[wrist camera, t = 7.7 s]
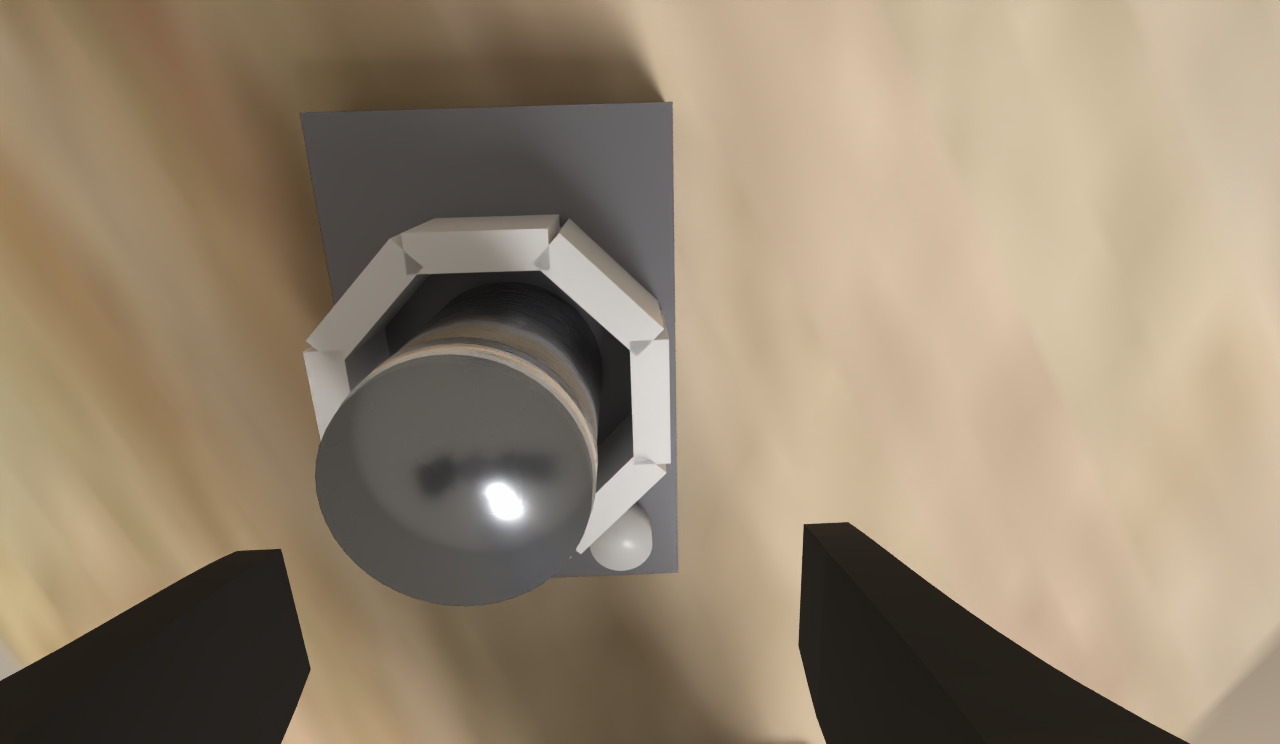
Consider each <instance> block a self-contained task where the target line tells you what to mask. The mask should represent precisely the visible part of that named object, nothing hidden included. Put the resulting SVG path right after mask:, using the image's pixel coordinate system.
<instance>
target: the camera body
mask: <svg viewBox="0 0 1280 744" xmlns="http://www.w3.org/2000/svg"><path fill="white" fill-rule="evenodd" d="M300 118H301V123H302V129H303V134H304V140H305V146H306V151H307V157H308V162H309V168H310V173H311V179H312V184H313V190H314V195H315V201H316V206H317V212H318V218H319V223H320V229H321V234H322V240H323V245H324V251H325V256H326V262H327V267H328V273H329V278H330V284H331V290H332V295H333V301H334V307H333V308H332V309H331V311H330V312H329V313H328V314H327V315H326V317H325V318H324V319H323V320H322V322H321V323H320V324H319V325H318V326H317V328H316V329H315V330H314V331H313V332H312V334H311V335H310V336H309V337H308V339H307V340H306V342H307V343H308V344H310V345H311V347H310V348H308V349H307V350H305V351H304V352H303V355H304V360H305V365H306V370H307V375H308V380H309V385H310V390H311V395H312V400H313V405H314V410H315V415H316V420H317V425H318V430H319V435H320V440H322V437H323V435H324V432H325V430H326V428H327V426H328V424H329V423H330V421H331V419H332V418H333V416H334V414H335V413H336V412H337V410H338V408H339V407H340V405H341V403H342V402H343V401H344V400H345V398H346V397H347V396H348V395H349V394H350V392H351V391H352V390H353V389H354V388H355V387H356V386H357V385H358V384H359V383H360V382H362V381H363V380H364V379H365V378H366V377H367V376H368V375H369V374H370V373H371V372H372V371H373V370H374V369H376V368H377V367H378V366H379V365H380V364H381V363H382V362H384V361H385V360H387V359H388V358H390V357H391V356H393V355H394V354H395V353H396V352H398V351H399V350H400V349H401V348H402V347H403V346H404V345H405V344H406V343H407V342H408V341H409V340H410V339H411V338H412V337H413V336H414V335H415V334H416V333H417V332H418V331H420V330H421V329H422V328H423V327H424V326H425V325H426V324H427V323H428V322H429V321H430V320H431V319H432V318H433V317H434V316H435V315H436V314H437V313H438V312H439V311H440V310H442V309H443V308H444V307H445V306H446V305H447V304H448V303H449V302H450V301H451V300H453V299H454V298H456V297H457V296H459V295H460V294H462V293H464V292H466V291H468V290H470V289H472V288H475V287H478V286H481V285H484V284H489V283H494V282H520V283H525V284H530V285H534V286H537V287H540V288H543V289H545V290H548V291H550V292H552V293H554V294H556V295H557V296H559V297H560V298H562V299H563V300H565V301H566V302H568V303H569V304H570V305H571V306H572V307H573V308H575V309H576V310H577V312H578V313H579V314H580V315H581V316H582V317H583V318H584V320H585V321H586V322H587V324H588V325H589V327H590V328H591V330H592V332H593V334H594V336H595V338H596V341H597V343H598V346H599V349H600V354H601V358H602V368H603V374H602V388H601V400H600V411H599V423H598V435H597V453H598V466H597V480H596V493H595V500H594V504H593V509H592V512H591V515H590V518H589V521H588V524H587V527H586V530H585V532H584V535H583V538H582V539H581V541H580V543H579V545H578V547H577V548H576V550H575V552H574V553H573V554H572V556H571V557H570V558H569V560H568V561H567V562H566V563H565V564H564V565H563V566H562V567H561V568H560V569H559V570H558V571H557V572H556V573H555V574H554V575H553V576H552V577H550V578H553V577H579V576H605V575H631V574H657V573H678V532H677V447H676V362H675V278H674V193H673V108H672V102H647V103H613V104H579V105H545V106H511V107H477V108H443V109H409V110H375V111H341V112H307V113H300Z"/></svg>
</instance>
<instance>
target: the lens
mask: <svg viewBox="0 0 1280 744" xmlns="http://www.w3.org/2000/svg"><path fill="white" fill-rule="evenodd" d="M602 374H603V368H602V358H601V354H600V349H599V346H598V343H597V341H596V338H595V336H594V334H593V332H592V330H591V328H590V327H589V325H588V324H587V322H586V321H585V320H584V318H583V317H582V316H581V315H580V314H579V313H578V312H577V310H576V309H575V308H573V307H572V306H571V305H570V304H569V303H568V302H566V301H565V300H563V299H562V298H560V297H559V296H557V295H556V294H554V293H552V292H550V291H548V290H545V289H543V288H540V287H537V286H534V285H530V284H525V283H520V282H494V283H489V284H484V285H481V286H478V287H475V288H472V289H470V290H468V291H466V292H464V293H462V294H460V295H459V296H457V297H456V298H454V299H453V300H451V301H450V302H449V303H448V304H447V305H446V306H445V307H444V308H443V309H442V310H440V311H439V312H438V313H437V314H436V315H435V316H434V317H433V318H432V319H431V320H430V321H429V322H428V323H427V324H426V325H425V326H424V327H423V328H422V329H421V330H420V331H418V332H417V333H416V334H415V335H414V336H413V337H412V338H411V339H410V340H409V341H408V342H407V343H406V344H405V345H404V346H403V347H402V348H401V349H400V350H399V351H398V352H396V353H395V354H394V355H393V356H391V357H390V358H388V359H387V360H385V361H384V362H382V363H381V364H380V365H379V366H378V367H377V368H376V369H374V370H373V371H372V372H371V373H370V374H369V375H368V376H367V377H366V378H365V379H364V380H363V381H362V382H360V383H359V384H358V385H357V386H356V387H355V388H354V389H353V390H352V391H351V392H350V394H349V395H348V396H347V397H346V398H345V400H344V401H343V402H342V403H341V405H340V407H339V408H338V410H337V412H336V413H335V414H334V416H333V418H332V419H331V421H330V423H329V424H328V426H327V428H326V430H325V432H324V435H323V437H322V440H321V443H320V446H319V450H318V455H317V459H316V472H315V480H316V491H317V496H318V500H319V505H320V509H321V511H322V514H323V516H324V519H325V521H326V524H327V526H328V527H329V529H330V531H331V533H332V535H333V536H334V538H335V540H336V541H337V542H338V544H339V545H340V546H341V548H342V549H343V550H344V552H345V553H346V554H347V555H348V556H349V557H350V558H351V559H352V560H353V561H354V562H355V563H356V564H357V565H358V566H359V567H360V568H362V569H363V570H364V571H365V572H366V573H367V574H369V575H370V576H372V577H373V578H375V579H376V580H378V581H379V582H381V583H382V584H384V585H386V586H388V587H390V588H392V589H394V590H396V591H397V592H400V593H402V594H405V595H407V596H410V597H413V598H416V599H419V600H423V601H427V602H431V603H436V604H443V605H452V606H476V605H486V604H491V603H497V602H501V601H504V600H508V599H511V598H514V597H517V596H519V595H522V594H524V593H526V592H529V591H530V590H532V589H534V588H536V587H537V586H539V585H541V584H542V583H544V582H545V581H546V580H548V579H549V578H550V577H552V576H553V575H554V574H555V573H556V572H557V571H558V570H559V569H560V568H561V567H562V566H563V565H564V564H565V563H566V562H567V561H568V560H569V558H570V557H571V556H572V554H573V553H574V552H575V550H576V548H577V547H578V545H579V543H580V541H581V539H582V538H583V535H584V532H585V530H586V527H587V524H588V521H589V518H590V515H591V512H592V509H593V504H594V500H595V493H596V480H597V466H598V453H597V435H598V423H599V411H600V400H601V388H602Z"/></svg>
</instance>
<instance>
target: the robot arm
mask: <svg viewBox="0 0 1280 744" xmlns="http://www.w3.org/2000/svg"><path fill="white" fill-rule="evenodd" d="M799 650H800V654H801V658H802V662H803V666H804V670H805V674H806V678H807V682H808V686H809V690H810V694H811V698H812V702H813V705H814V709H815V713H816V717H817V719H818V722H819V725H820V728H821V730H822V733H823V736H824V738H825V741H826V744H1189V743H1188V742H1186V741H1184V740H1182V739H1180V738H1178V737H1176V736H1174V735H1172V734H1170V733H1168V732H1166V731H1165V730H1163V729H1161V728H1159V727H1157V726H1155V725H1153V724H1151V723H1149V722H1148V721H1146V720H1144V719H1142V718H1140V717H1139V716H1137V715H1135V714H1133V713H1132V712H1130V711H1128V710H1126V709H1124V708H1123V707H1121V706H1119V705H1117V704H1116V703H1114V702H1112V701H1110V700H1109V699H1107V698H1105V697H1103V696H1101V695H1100V694H1098V693H1096V692H1094V691H1093V690H1091V689H1089V688H1087V687H1086V686H1084V685H1082V684H1080V683H1079V682H1077V681H1075V680H1074V679H1072V678H1070V677H1069V676H1067V675H1065V674H1064V673H1062V672H1060V671H1059V670H1057V669H1055V668H1054V667H1052V666H1050V665H1049V664H1047V663H1046V662H1044V661H1043V660H1041V659H1039V658H1038V657H1036V656H1035V655H1033V654H1032V653H1030V652H1029V651H1027V650H1026V649H1024V648H1023V647H1021V646H1019V645H1018V644H1016V643H1015V642H1013V641H1012V640H1010V639H1009V638H1007V637H1006V636H1004V635H1003V634H1001V633H999V632H998V631H996V630H995V629H993V628H992V627H991V626H989V625H988V624H986V623H985V622H983V621H982V620H980V619H979V618H978V617H976V616H975V615H973V614H972V613H970V612H969V611H967V610H966V609H965V608H963V607H962V606H960V605H959V604H958V603H956V602H955V601H953V600H952V599H951V598H949V597H948V596H947V595H945V594H944V593H942V592H941V591H940V590H938V589H937V588H936V587H934V586H933V585H931V584H930V583H929V582H927V581H926V580H925V579H923V578H922V577H921V576H919V575H918V574H917V573H915V572H914V571H913V570H911V569H910V568H909V567H907V566H906V565H905V564H904V563H902V562H901V561H900V560H898V559H897V558H896V557H894V556H893V555H892V554H890V553H889V552H888V551H886V550H885V549H884V548H883V547H881V546H880V545H879V544H877V543H876V542H875V541H873V540H872V539H871V538H869V537H868V536H867V535H865V534H864V533H863V532H861V531H860V530H858V529H857V528H856V527H854V526H853V525H851V524H850V523H848V522H843V523H822V524H804V532H803V555H802V578H801V600H800V623H799ZM310 670H311V669H310V665H309V660H308V656H307V652H306V648H305V644H304V640H303V636H302V632H301V628H300V624H299V620H298V616H297V612H296V608H295V604H294V600H293V596H292V591H291V587H290V583H289V579H288V575H287V571H286V567H285V563H284V559H283V555H282V551H281V549H270V550H249V551H236V552H234V553H232V554H229V555H227V556H225V557H223V558H221V559H218V560H216V561H214V562H212V563H210V564H209V565H207V566H205V567H203V568H201V569H199V570H197V571H195V572H194V573H192V574H190V575H188V576H186V577H184V578H183V579H181V580H179V581H177V582H175V583H174V584H172V585H170V586H168V587H167V588H165V589H163V590H161V591H160V592H158V593H156V594H154V595H153V596H151V597H149V598H147V599H146V600H144V601H142V602H140V603H139V604H137V605H135V606H133V607H132V608H130V609H128V610H126V611H125V612H123V613H121V614H119V615H118V616H116V617H114V618H113V619H111V620H109V621H107V622H106V623H104V624H102V625H100V626H99V627H97V628H95V629H93V630H92V631H90V632H88V633H86V634H85V635H83V636H81V637H79V638H78V639H76V640H74V641H72V642H71V643H69V644H67V645H65V646H64V647H62V648H60V649H58V650H56V651H55V652H53V653H51V654H49V655H47V656H45V657H44V658H42V659H40V660H38V661H36V662H34V663H33V664H31V665H29V666H27V667H25V668H23V669H22V670H20V671H18V672H16V673H14V674H12V675H10V676H9V677H7V678H5V679H3V680H1V681H0V744H281V742H282V740H283V737H284V735H285V733H286V730H287V728H288V726H289V723H290V721H291V719H292V716H293V714H294V711H295V709H296V706H297V704H298V701H299V699H300V696H301V693H302V691H303V688H304V685H305V683H306V680H307V678H308V675H309V672H310Z"/></svg>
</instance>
